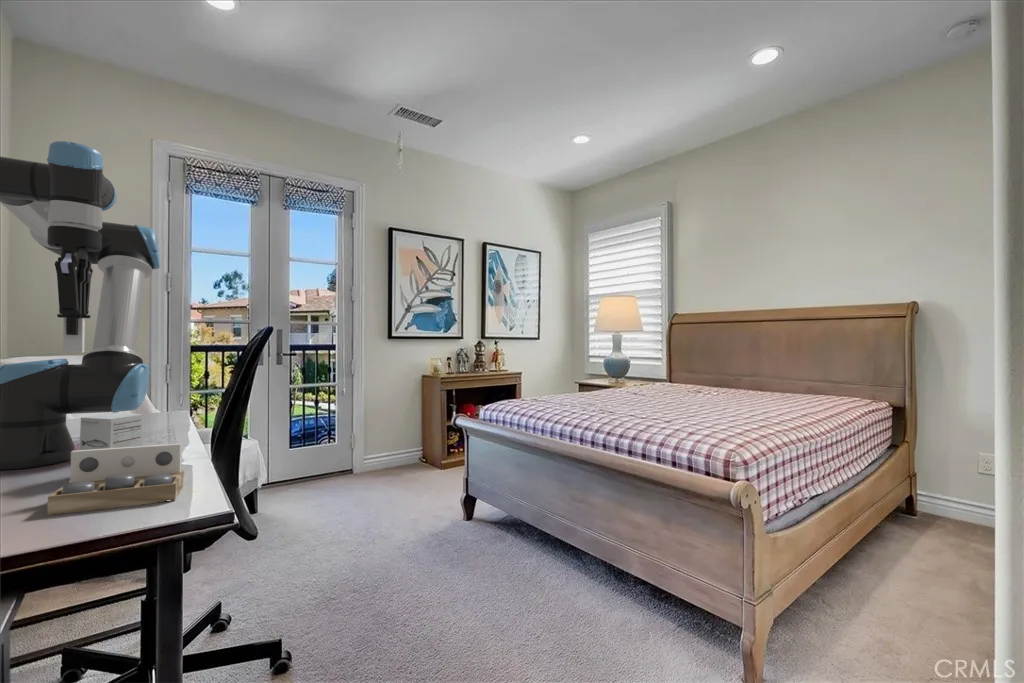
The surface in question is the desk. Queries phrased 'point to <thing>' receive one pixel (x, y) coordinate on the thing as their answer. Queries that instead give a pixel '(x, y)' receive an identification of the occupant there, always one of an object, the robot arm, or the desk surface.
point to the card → (125, 462)
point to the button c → (158, 480)
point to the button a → (79, 487)
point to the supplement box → (111, 431)
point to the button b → (119, 481)
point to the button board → (114, 496)
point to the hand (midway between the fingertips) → (73, 352)
